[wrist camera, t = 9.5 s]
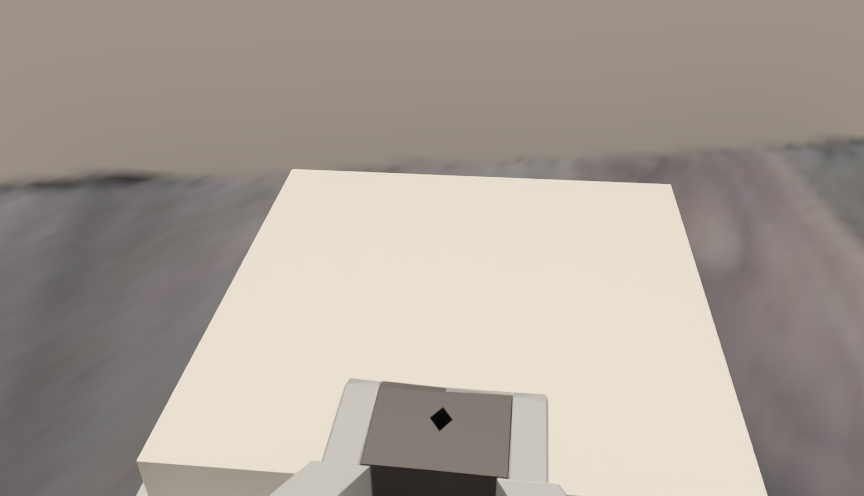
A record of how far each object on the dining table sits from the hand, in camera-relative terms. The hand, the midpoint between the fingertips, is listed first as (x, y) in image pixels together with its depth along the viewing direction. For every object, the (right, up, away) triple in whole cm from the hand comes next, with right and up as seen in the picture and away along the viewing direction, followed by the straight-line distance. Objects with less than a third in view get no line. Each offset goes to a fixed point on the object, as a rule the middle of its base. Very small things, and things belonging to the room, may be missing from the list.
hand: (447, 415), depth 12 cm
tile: (0, -3, +3) cm, 4 cm away
